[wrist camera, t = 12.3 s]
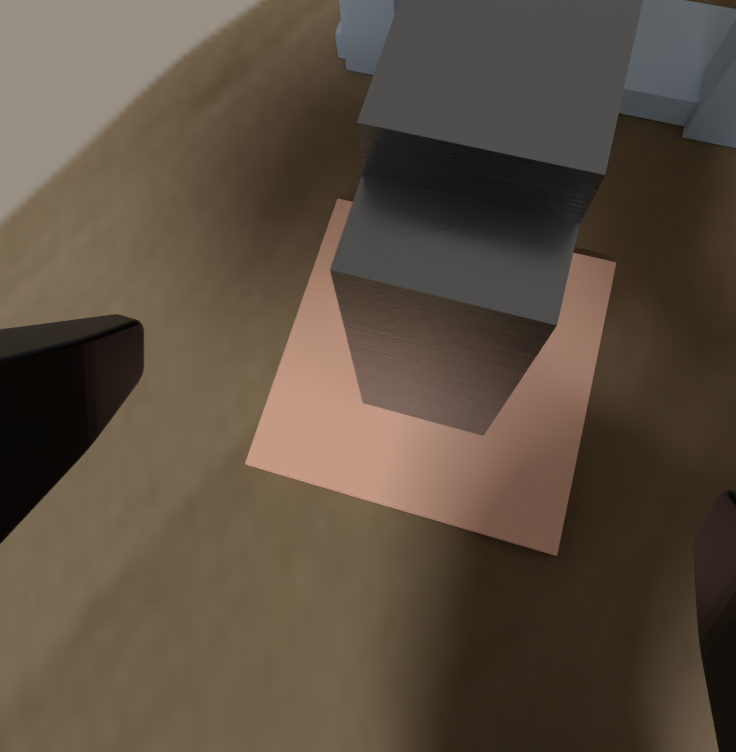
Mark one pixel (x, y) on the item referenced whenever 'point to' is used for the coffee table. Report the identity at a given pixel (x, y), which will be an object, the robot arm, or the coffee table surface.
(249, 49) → the coffee table surface
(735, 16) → the rail stand
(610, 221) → the coffee table surface
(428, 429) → the terracotta mat
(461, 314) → the gray block
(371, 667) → the coffee table surface
